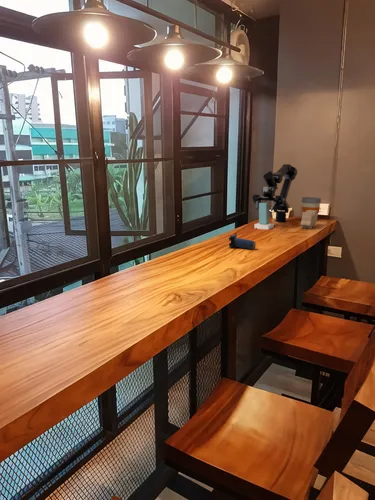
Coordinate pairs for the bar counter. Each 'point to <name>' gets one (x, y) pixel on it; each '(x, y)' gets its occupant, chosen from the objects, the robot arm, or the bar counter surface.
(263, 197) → the robot arm
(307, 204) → the reusable coffee cup
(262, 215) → the teal column
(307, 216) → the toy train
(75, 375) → the bar counter surface
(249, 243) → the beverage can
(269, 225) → the base brick
